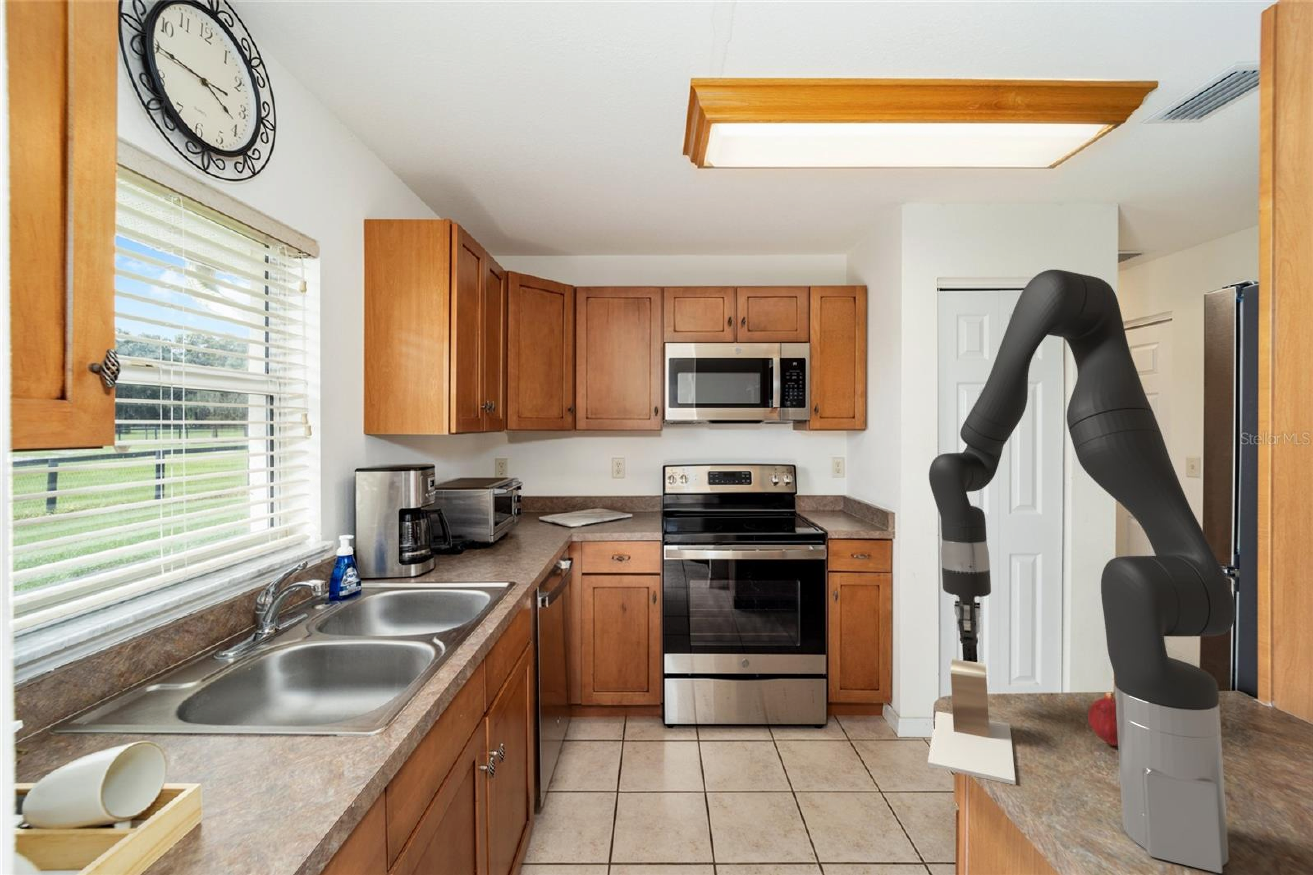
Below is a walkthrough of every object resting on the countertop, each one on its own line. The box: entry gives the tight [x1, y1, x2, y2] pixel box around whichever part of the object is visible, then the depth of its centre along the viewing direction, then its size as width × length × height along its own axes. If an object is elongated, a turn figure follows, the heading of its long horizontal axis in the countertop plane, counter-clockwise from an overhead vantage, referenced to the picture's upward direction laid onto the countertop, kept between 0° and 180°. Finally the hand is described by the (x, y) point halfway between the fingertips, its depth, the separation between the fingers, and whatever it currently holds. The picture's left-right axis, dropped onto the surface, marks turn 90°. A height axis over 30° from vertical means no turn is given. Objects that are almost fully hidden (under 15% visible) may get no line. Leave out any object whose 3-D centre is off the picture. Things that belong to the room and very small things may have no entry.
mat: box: [927, 711, 1016, 786], centre depth 90 cm, size 18×11×1 cm, turn 150°
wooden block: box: [950, 658, 990, 738], centre depth 94 cm, size 5×5×10 cm
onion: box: [1087, 691, 1118, 747], centre depth 88 cm, size 6×6×8 cm
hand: (970, 664), depth 101 cm, fingers closed
